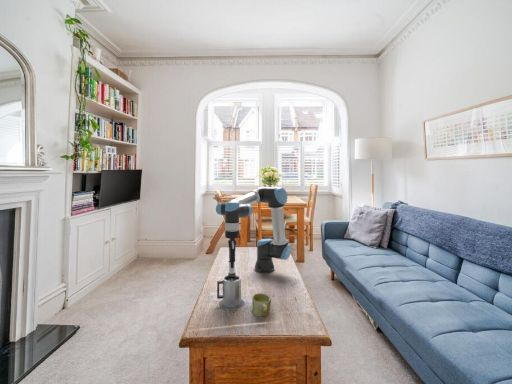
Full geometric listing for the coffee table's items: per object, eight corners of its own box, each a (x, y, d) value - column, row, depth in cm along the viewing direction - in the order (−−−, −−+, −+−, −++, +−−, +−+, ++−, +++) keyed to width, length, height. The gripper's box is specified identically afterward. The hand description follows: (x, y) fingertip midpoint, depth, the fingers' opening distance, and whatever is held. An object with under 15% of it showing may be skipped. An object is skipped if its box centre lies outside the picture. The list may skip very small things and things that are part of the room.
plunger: (237, 294, 141) (237, 270, 140) (238, 299, 134) (238, 275, 134) (225, 295, 140) (225, 271, 139) (226, 301, 133) (226, 276, 133)
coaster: (242, 297, 145) (242, 296, 145) (246, 309, 132) (246, 308, 132) (218, 299, 143) (218, 298, 143) (219, 311, 129) (219, 310, 129)
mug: (248, 303, 134) (254, 288, 132) (266, 309, 135) (272, 293, 133) (247, 320, 122) (254, 303, 120) (267, 326, 123) (274, 309, 121)
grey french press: (239, 298, 143) (239, 274, 142) (241, 306, 133) (242, 280, 133) (216, 300, 140) (216, 275, 140) (217, 308, 131) (217, 282, 130)
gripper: (224, 228, 141) (224, 269, 142) (226, 232, 128) (225, 278, 129) (237, 227, 143) (237, 268, 144) (240, 232, 130) (240, 277, 131)
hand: (231, 273), depth 136 cm, fingers closed
